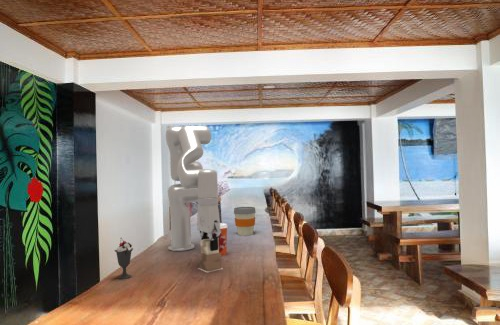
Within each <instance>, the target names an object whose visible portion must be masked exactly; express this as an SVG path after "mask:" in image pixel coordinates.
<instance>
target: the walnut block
mask: <svg viewBox="0 0 500 325" xmlns="http://www.w3.org/2000/svg"><path fill="white" fill-rule="evenodd" d="M221 257H222V256H221V253H216V254H211V255H205V254H203V253H201V252H199V268H200V269H202V270H205V271H207V272H208V273H210V272H209V271H212V272H214V271H213V270H216V271H219V270H218V269H220V270H222V269H221V268H222V258H221ZM200 269H199V270H200ZM202 270H201V271H202ZM205 271H204V272H205ZM207 272H206V273H207Z"/></svg>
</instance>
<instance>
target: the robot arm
mask: <svg viewBox="0 0 500 325" xmlns="http://www.w3.org/2000/svg"><path fill="white" fill-rule="evenodd" d="M165 140H166V145H167V148H168V151H169V159H170V162H169V165H170V177H171V179H172V181H174V182H179V183H175V184H172V185H170V186H169V187H168V189H167V197H168V202H169V210H170V211H169V212H170V214H169V215H170V243H171V245H168V250H169V251H171V252H172V251H173V252H183V251H189V250H193V249H194V248H195V244H194V243H192V230H191V225H192V224H191V212H190V209H189V208H188V207H187V205H186V204H188V203H198V205H197V206H198V207H197V215H196V216H197V218H196V219H197V220H196V227H197V231H199V233H200V238H201V239H200V241H201V240H203V239H209V238H211V240H210V251H215V250H218V239H219V235H220V233H221V230H220V218H219V210H218V196H219V191H218V189H219V188H218V186H219V185H218V173H217V172H218V171H217V170H215V169H209V168H204V167H203V164H202V163H201V162H200V161H199V160H200V159H201V158H202V157H203V156H204V148H203V145H208V144H210V142H211V140H212V133H211V130H210V129H209V127H208V126H206V125H184V126H183V125H182V126H181V125H177V126H170V127H168V128H167V129H166V131H165ZM212 231H213V232H212ZM213 233H215V234H214V235H213Z"/></svg>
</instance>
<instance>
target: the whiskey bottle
mask: <svg viewBox="0 0 500 325" xmlns="http://www.w3.org/2000/svg"><path fill="white" fill-rule="evenodd" d="M221 201H222V197H221V196H219V195H218V210H219V218H220V223H223V221H222V220H223V219H222V208H221V207H222V205H221V204H222V202H221Z"/></svg>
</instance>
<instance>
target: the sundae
mask: <svg viewBox="0 0 500 325" xmlns="http://www.w3.org/2000/svg"><path fill="white" fill-rule="evenodd" d="M119 239H120V240H122V241H120V243H119V244H118V245H119V246H117V248H116V249H114V252H115V253H116V258H117V259H116V260H117V263H118V266H120V268H122V274H121V275H118V276H117V279H119V280H126V279H130V278H132V274H128V273H127V268H128V267H129V265H130V263H131V260H132V259H131V257H132V256H131V255H132V252H133V250H134V248H133V244H132V243H130V242H127V241H126V240H123V238H122V237H120V238H119Z"/></svg>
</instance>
